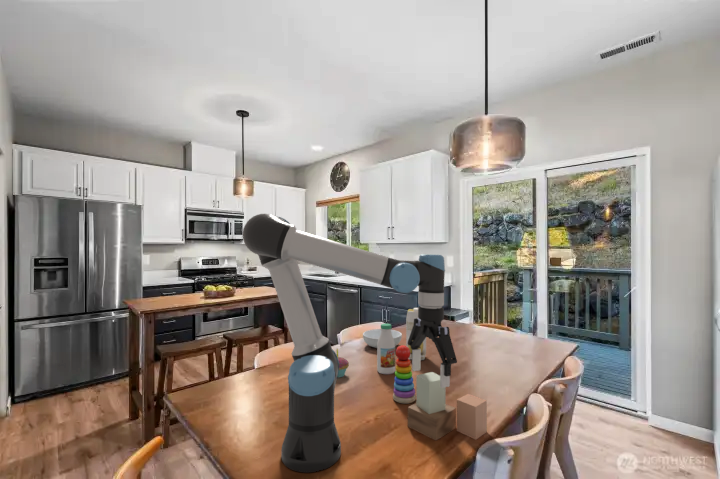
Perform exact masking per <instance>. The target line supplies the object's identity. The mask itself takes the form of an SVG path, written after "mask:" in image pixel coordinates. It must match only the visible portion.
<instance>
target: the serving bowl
mask: <svg viewBox="0 0 720 479" xmlns="http://www.w3.org/2000/svg"><path fill="white" fill-rule="evenodd" d="M391 334H392V337H393V339H394V342H395V347H396V346H397V345H398V344H400V342H401V340H402V337H403V334H402V332H400V331H398V330H395V329H392V330H391ZM380 335H381V328H374V329H369V330H366V331H364V332H363V333H362V338H363V341H364V342H365V344H366V345H368V346H369V347H372V348H376V349H377V344H378V339H379V337H380Z"/></svg>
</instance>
